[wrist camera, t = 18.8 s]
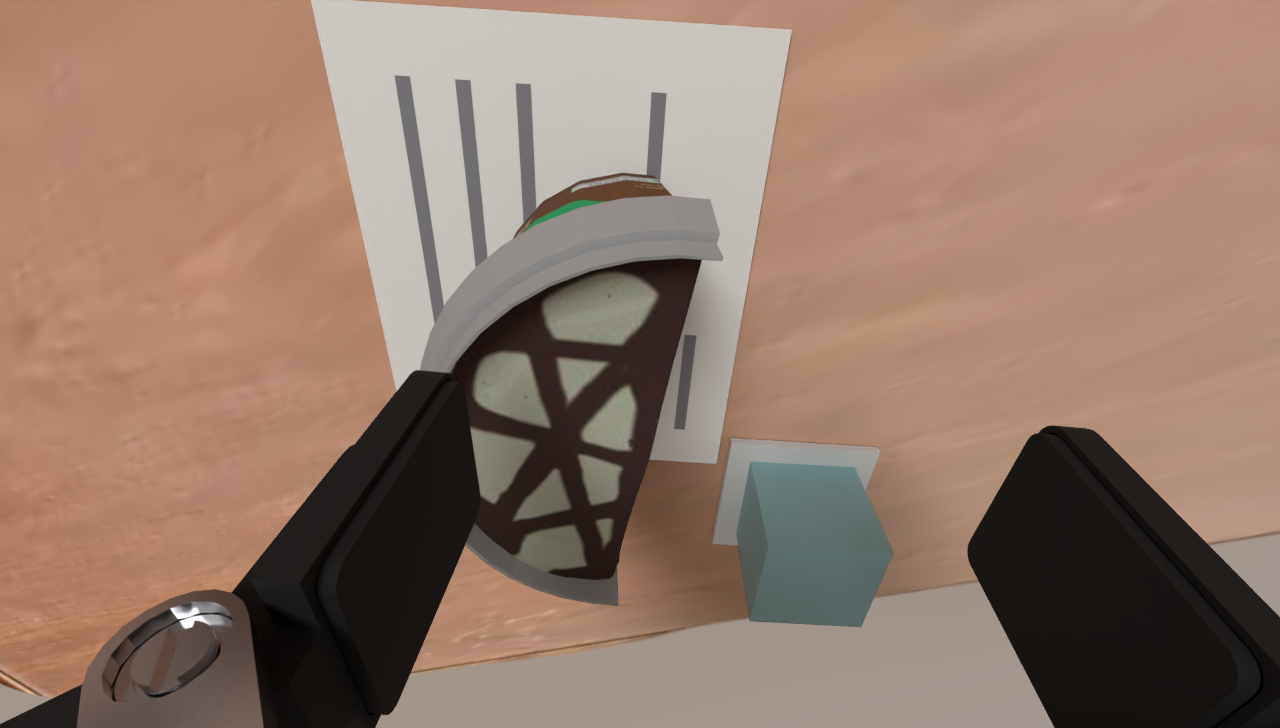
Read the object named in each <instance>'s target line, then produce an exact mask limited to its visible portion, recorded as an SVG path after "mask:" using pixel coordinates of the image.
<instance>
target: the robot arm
mask: <svg viewBox="0 0 1280 728" xmlns="http://www.w3.org/2000/svg"><path fill="white" fill-rule="evenodd" d="M480 501H481V496H480V488H479V481H478V475H477V468H476V461H475V455H474V448H473V442H472V435H471V428H470V422H469V415H468V408H467V402H466V395H465V389H464V386H463V384H462V383H460V382H455V381H454V378H453V376H452V374H450V373H446V372H434V371H423V370H416V371H413V372H412V373H411V374H410V375H409V376H408V378H407V379H406V380H405V382H404V383H403V384H402V385H401V387H400V388H399V389H398V390H397V392H396V393H395V394H394V395H393V397H392V398H391V399H390V401H389V402H388V403H387V404H386V406H385V407H384V408H383V409H382V411H381V412H380V413H379V414H378V416H377V417H376V418H375V420H374V421H373V422H372V423H371V425H370V426H369V427H368V428H367V430H366V431H365V432H364V433H363V435H362V436H361V437H360V439H359V440H358V441H357V442H356V444H355V445H352V446H350V447H349V448H348V449H347V450H346V451H345V452H344V453H343V454H342V455H341V457H340V458H339V459H338V460H337V462H336V463H335V464H334V465H333V467H332V468H331V469H330V470H329V472H328V473H327V474H326V475H325V477H324V478H323V479H322V480H321V482H320V483H319V484H318V485H317V487H316V488H315V489H314V490H313V492H312V493H311V494H310V495H309V497H308V498H307V499H306V500H305V502H304V503H303V504H302V505H301V507H300V508H299V509H298V510H297V512H296V513H295V514H294V515H293V517H292V518H291V519H290V520H289V522H288V523H287V524H286V525H285V527H284V528H283V529H282V530H281V532H280V533H279V534H278V535H277V537H276V538H275V539H274V540H273V542H272V543H271V544H270V545H269V547H268V548H267V549H266V550H265V552H264V553H263V554H262V555H261V557H260V558H259V559H258V560H257V562H256V563H255V564H254V565H253V567H252V568H251V569H250V570H249V572H248V573H247V574H246V575H245V577H244V578H243V579H242V580H241V582H240V583H239V584H238V585H237V587H236V588H235V589H234V590H233V592H232V593H230V592H225V591H220V590H215V589H214V590H204V591H194V592H190V593H187V594H184V595H180V596H177V597H174V598H171V599H168V600H166V601H164V602H162V603H160V604H158V605H156V606H154V607H152V608H150V609H148V610H146V611H145V612H143V613H142V614H140V615H139V616H138V617H136V618H135V619H133V620H132V621H130V622H129V623H128V624H126V625H125V626H123V627H122V628H121V629H120V630H119V631H118V632H117V633H116V634H115V635H114V636H113V637H112V638H111V639H110V640H109V641H108V642H107V643H106V644H105V645H104V646H103V647H102V648H101V650H100V651H99V652H98V654H97V655H96V657H95V658H94V660H93V661H92V663H91V664H90V665H89V667H88V670H87V673H86V676H85V679H84V682H83V684H82V685H80V686H78V687H76V688H73V689H71V690H69V691H67V692H65V693H63V694H61V695H59V696H57V697H55V698H53V699H51V700H49V701H47V702H45V703H43V704H41V705H39V706H37V707H35V708H32V709H30V710H28V711H26V712H24V713H22V714H20V715H18V716H16V717H14V718H12V719H10V720H8V721H6V722H4V723H2V724H0V728H375V727H376V725H377V722H378V720H379V718H380V716H381V714H382V715H389V714H390V713H391V712H392V711H393V710H394V708H395V707H396V705H397V702H398V701H399V698H400V696H401V694H402V691H403V689H404V687H405V684H406V682H407V680H408V677H409V675H410V673H411V670H412V668H413V666H414V663H415V661H416V659H417V656H418V654H419V652H420V649H421V647H422V645H423V642H424V640H425V638H426V635H427V633H428V631H429V628H430V626H431V624H432V621H433V619H434V617H435V614H436V612H437V610H438V607H439V605H440V603H441V600H442V598H443V596H444V593H445V591H446V589H447V586H448V584H449V582H450V579H451V577H452V575H453V572H454V570H455V567H456V565H457V563H458V560H459V558H460V556H461V553H462V551H463V549H464V546H465V544H466V542H467V539H468V537H469V535H470V532H471V530H472V528H473V525H474V523H475V521H476V518H477V516H478V513H479V509H480ZM968 559H969V562H970V565H971V567H972V569H973V571H974V573H975V575H976V577H977V579H978V580H979V582H980V584H981V586H982V588H983V590H984V592H985V594H986V596H987V598H988V600H989V602H990V604H991V606H992V608H993V609H994V611H995V613H996V615H997V617H998V619H999V621H1000V623H1001V625H1002V627H1003V629H1004V631H1005V633H1006V634H1007V636H1008V638H1009V640H1010V642H1011V644H1012V646H1013V648H1014V650H1015V652H1016V654H1017V656H1018V658H1019V660H1020V662H1021V664H1022V666H1023V667H1024V669H1025V671H1026V673H1027V675H1028V677H1029V679H1030V681H1031V683H1032V685H1033V687H1034V689H1035V691H1036V693H1037V694H1038V696H1039V698H1040V700H1041V702H1042V704H1043V706H1044V708H1045V710H1046V712H1047V714H1048V716H1049V718H1050V720H1051V722H1052V723H1053V726H1054V727H1055V728H1280V617H1279V616H1278V615H1277V614H1276V613H1275V612H1274V611H1273V610H1272V609H1271V608H1270V607H1269V606H1268V605H1267V604H1266V603H1265V602H1264V601H1263V600H1262V599H1261V598H1260V597H1259V596H1258V595H1257V594H1256V593H1255V592H1254V591H1253V590H1252V589H1251V588H1250V587H1249V586H1248V584H1246V582H1245V581H1244V580H1243V579H1242V578H1240V576H1238V574H1237V573H1236V572H1235V571H1234V570H1232V568H1231V567H1230V566H1229V565H1228V564H1226V562H1225V561H1224V560H1223V559H1222V558H1221V557H1220V556H1219V555H1218V554H1217V553H1216V552H1215V551H1214V550H1213V549H1212V548H1211V547H1210V546H1209V545H1208V544H1207V543H1206V542H1205V541H1204V540H1203V539H1202V538H1201V537H1200V536H1199V535H1198V534H1197V533H1196V532H1195V531H1194V530H1193V529H1192V528H1191V527H1190V526H1189V525H1188V524H1187V523H1186V522H1185V521H1184V520H1183V519H1182V518H1181V517H1180V516H1179V515H1178V514H1177V513H1176V512H1175V511H1174V510H1173V509H1172V508H1171V507H1170V506H1169V505H1168V504H1167V503H1166V502H1165V501H1164V500H1163V499H1162V498H1161V497H1160V496H1159V495H1158V494H1157V493H1156V492H1155V491H1154V490H1153V489H1152V488H1151V487H1150V486H1149V485H1148V484H1147V483H1146V482H1145V481H1144V480H1143V479H1142V478H1141V476H1140V475H1139V474H1138V473H1137V472H1136V471H1135V470H1134V469H1133V468H1132V467H1131V466H1130V465H1129V464H1128V463H1127V462H1126V461H1125V460H1124V459H1123V458H1122V457H1121V456H1120V455H1119V454H1118V453H1117V452H1116V451H1115V450H1114V449H1113V448H1112V447H1111V446H1110V445H1109V444H1108V443H1107V442H1106V441H1105V440H1104V439H1103V438H1102V437H1101V436H1100V435H1099V434H1097V433H1096V432H1095V431H1093V430H1090V429H1086V428H1074V427H1063V426H1047V427H1045V428H1043V429H1042V430H1041V431H1040V432H1039V433H1038V434H1034V435H1032V436H1031V437H1030V438H1029V439H1028V441H1027V442H1026V444H1025V446H1024V448H1023V449H1022V451H1021V453H1020V454H1019V456H1018V458H1017V460H1016V461H1015V463H1014V465H1013V467H1012V468H1011V470H1010V472H1009V474H1008V475H1007V477H1006V479H1005V481H1004V482H1003V484H1002V486H1001V488H1000V489H999V491H998V493H997V494H996V496H995V498H994V500H993V501H992V503H991V505H990V507H989V508H988V510H987V512H986V514H985V515H984V517H983V519H982V521H981V522H980V524H979V526H978V528H977V529H976V531H975V533H974V534H973V536H972V538H971V540H970V542H969V544H968Z"/></svg>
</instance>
